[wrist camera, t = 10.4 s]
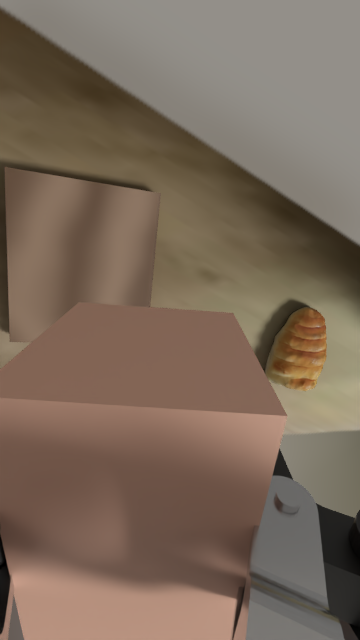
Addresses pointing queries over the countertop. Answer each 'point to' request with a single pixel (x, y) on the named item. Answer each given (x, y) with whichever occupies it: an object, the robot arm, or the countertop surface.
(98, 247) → the walnut board
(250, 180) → the countertop surface
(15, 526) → the tall block
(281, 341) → the pastry
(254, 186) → the countertop surface
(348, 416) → the countertop surface
